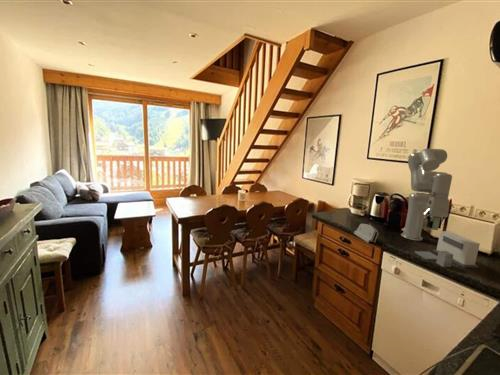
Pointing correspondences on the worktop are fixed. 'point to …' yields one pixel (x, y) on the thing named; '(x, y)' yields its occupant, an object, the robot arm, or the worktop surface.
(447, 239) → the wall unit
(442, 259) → the metal block
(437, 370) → the worktop surface
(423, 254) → the slate mat
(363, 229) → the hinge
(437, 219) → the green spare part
